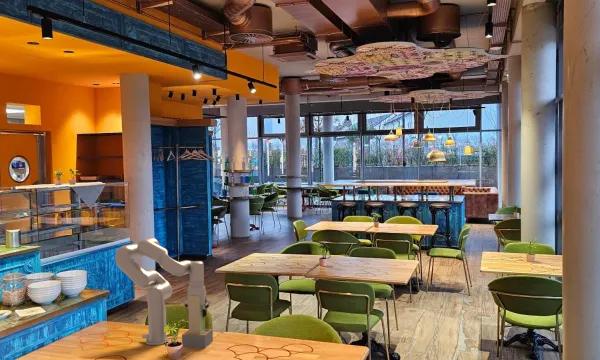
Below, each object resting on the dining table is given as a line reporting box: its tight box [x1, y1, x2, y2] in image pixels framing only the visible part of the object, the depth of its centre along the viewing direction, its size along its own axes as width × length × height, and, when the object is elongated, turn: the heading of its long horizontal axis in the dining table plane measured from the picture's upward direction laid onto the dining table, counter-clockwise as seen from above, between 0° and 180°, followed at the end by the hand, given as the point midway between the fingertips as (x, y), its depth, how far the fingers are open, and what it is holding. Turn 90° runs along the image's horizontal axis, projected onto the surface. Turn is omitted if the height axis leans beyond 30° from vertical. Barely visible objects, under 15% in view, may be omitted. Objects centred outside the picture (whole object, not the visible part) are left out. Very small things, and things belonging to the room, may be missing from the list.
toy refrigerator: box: [187, 296, 206, 334], centre depth 283 cm, size 8×7×21 cm
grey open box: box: [181, 328, 214, 349], centre depth 283 cm, size 13×12×7 cm
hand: (197, 316), depth 283 cm, fingers open, 7 cm apart
